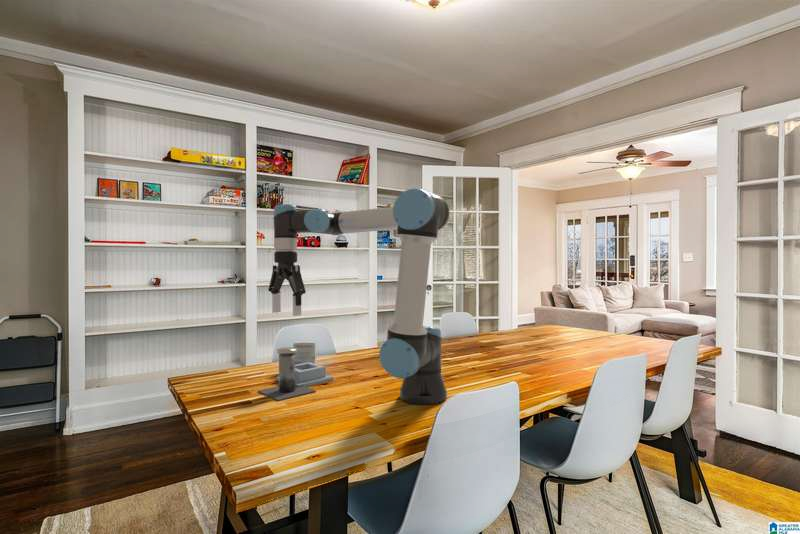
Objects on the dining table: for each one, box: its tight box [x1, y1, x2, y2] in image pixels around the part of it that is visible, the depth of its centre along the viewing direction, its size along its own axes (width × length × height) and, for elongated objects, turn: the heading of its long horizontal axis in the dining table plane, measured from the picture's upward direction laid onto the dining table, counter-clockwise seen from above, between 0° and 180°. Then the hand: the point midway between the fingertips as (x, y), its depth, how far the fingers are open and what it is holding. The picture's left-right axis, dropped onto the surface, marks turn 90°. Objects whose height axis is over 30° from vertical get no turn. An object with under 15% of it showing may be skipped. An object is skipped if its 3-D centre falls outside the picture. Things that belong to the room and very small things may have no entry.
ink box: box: [292, 340, 317, 365], centre depth 175 cm, size 9×5×12 cm, turn 92°
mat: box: [257, 385, 317, 402], centre depth 147 cm, size 14×14×1 cm
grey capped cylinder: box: [277, 346, 297, 393], centre depth 147 cm, size 6×6×14 cm
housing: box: [275, 362, 334, 387], centre depth 161 cm, size 15×15×5 cm
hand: (286, 314), depth 147 cm, fingers open, 13 cm apart
